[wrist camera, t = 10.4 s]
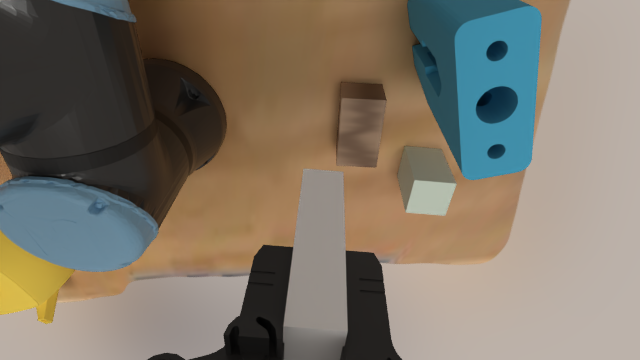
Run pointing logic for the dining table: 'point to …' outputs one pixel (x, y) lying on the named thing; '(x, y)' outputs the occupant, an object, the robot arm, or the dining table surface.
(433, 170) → the sage pillar
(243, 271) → the dining table surface
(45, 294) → the teapot
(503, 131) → the block
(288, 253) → the robot arm
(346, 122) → the walnut pillar
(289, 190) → the dining table surface
